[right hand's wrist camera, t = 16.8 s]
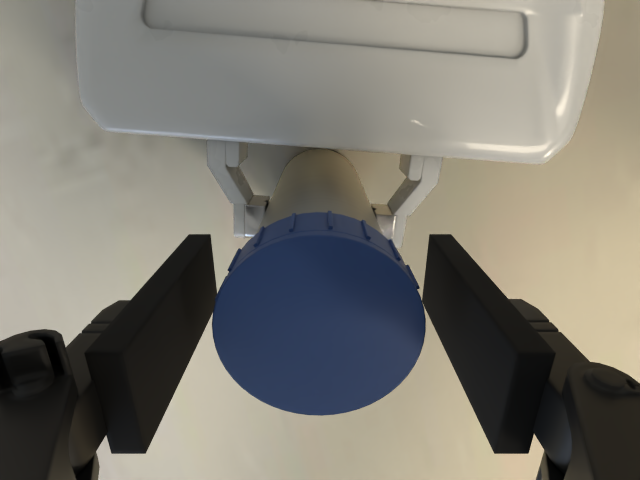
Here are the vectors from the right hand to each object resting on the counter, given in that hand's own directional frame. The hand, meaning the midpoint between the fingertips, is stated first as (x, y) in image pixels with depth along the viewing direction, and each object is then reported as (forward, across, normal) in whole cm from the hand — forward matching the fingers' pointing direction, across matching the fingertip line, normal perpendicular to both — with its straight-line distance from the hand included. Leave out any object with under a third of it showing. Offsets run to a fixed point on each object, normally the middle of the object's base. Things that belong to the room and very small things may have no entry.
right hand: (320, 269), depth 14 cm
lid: (-4, 0, 0) cm, 4 cm away
